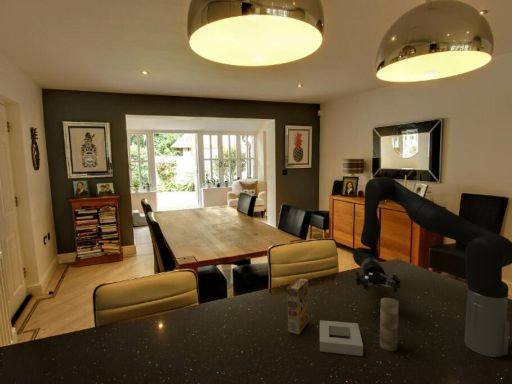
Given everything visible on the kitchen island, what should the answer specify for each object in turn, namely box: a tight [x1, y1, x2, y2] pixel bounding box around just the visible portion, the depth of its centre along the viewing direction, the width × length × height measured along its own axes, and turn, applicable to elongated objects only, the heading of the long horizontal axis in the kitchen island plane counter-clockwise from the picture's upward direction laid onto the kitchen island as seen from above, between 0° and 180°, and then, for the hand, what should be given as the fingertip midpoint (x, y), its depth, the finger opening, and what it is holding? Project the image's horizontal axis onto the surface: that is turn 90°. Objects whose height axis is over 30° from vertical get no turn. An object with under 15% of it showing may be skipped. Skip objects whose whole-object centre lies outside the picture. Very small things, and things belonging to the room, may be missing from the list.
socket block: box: [319, 319, 364, 357], centre depth 93 cm, size 12×12×3 cm
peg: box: [379, 297, 400, 352], centre depth 90 cm, size 5×5×14 cm
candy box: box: [286, 277, 309, 335], centre depth 101 cm, size 9×4×15 cm, turn 150°
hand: (380, 289), depth 100 cm, fingers open, 8 cm apart
